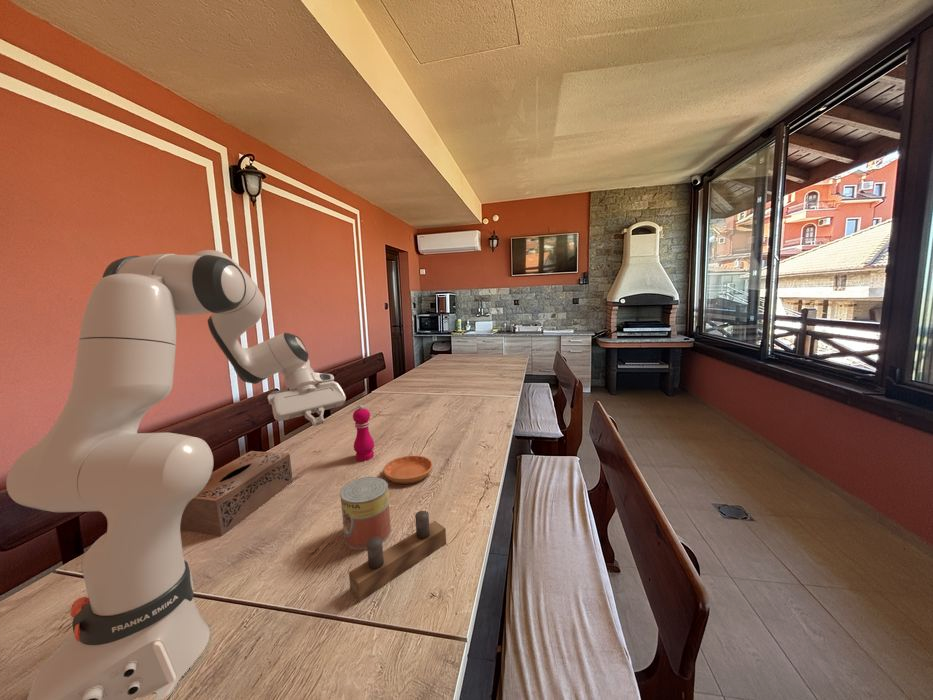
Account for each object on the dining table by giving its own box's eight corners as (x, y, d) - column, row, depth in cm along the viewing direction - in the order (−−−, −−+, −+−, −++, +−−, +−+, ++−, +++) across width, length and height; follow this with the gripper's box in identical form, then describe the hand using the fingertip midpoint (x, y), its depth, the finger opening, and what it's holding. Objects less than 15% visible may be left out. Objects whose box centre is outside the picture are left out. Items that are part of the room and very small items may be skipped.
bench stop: (360, 601, 68) (356, 560, 66) (350, 589, 71) (346, 549, 69) (446, 543, 83) (444, 508, 81) (435, 535, 86) (433, 501, 84)
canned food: (336, 532, 88) (332, 488, 86) (377, 513, 95) (374, 472, 93) (356, 556, 80) (351, 508, 78) (399, 533, 87) (396, 488, 85)
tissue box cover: (222, 537, 88) (216, 500, 87) (176, 530, 91) (170, 495, 90) (293, 483, 113) (289, 453, 111) (255, 479, 116) (251, 450, 114)
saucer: (381, 468, 121) (380, 460, 120) (426, 459, 126) (425, 451, 126) (387, 492, 106) (387, 483, 105) (438, 480, 111) (438, 472, 111)
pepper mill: (369, 462, 125) (365, 408, 121) (350, 461, 126) (346, 407, 123) (378, 453, 132) (374, 402, 128) (360, 452, 133) (356, 401, 130)
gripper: (266, 386, 98) (282, 428, 92) (337, 373, 112) (354, 409, 106) (264, 399, 102) (278, 440, 96) (332, 384, 116) (349, 420, 110)
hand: (319, 423), depth 101 cm, fingers closed
